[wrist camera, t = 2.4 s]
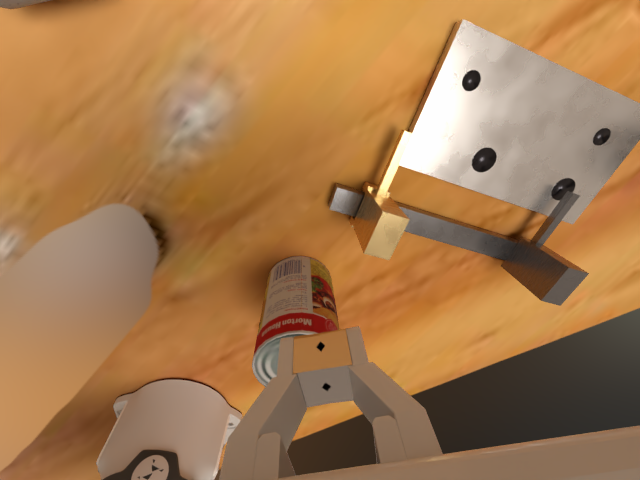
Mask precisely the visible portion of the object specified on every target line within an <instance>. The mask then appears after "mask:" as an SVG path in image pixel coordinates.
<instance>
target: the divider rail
mask: <svg viewBox="0 0 640 480" xmlns="http://www.w3.org/2000/svg"><path fill="white" fill-rule="evenodd" d="M364 196H365V192H363V191H360V190H357V189H354V188H350V187H347V186H344V185H341V184H338V183H335V186H334V189H333V192H332V195H331V197H330V200H329V203H328V205H329V209H330V210H333V211H337V212H340V213H344V214H347V215H351V216H354V217H356V215H357V213H358V210H359V208H360V205H361V203H362V200H363V198H364ZM579 197H580V195H577V194H575V193H572V192H569V191H567V192H566V194H565V195H564V196H563V198H562V199H561V200H560V202H559V203H558V204H557V206H556V207H555V208H554V210H553V211H552V213H551V214H550V215H549V217H548V218H547V219H546V221H545V222H544V223H543V225H542V226H541V227H540V229H539V230H538V231H537V233H536V234H535V236H534V237H533V238H532V240H530V239H526V238H523V237H521V239H520V240H517V239H514V238H511V237H507V236H504V235H501V234H498V233H495V232H491V231H488V230H485V229H482V228H479V227H475V226H472V225H469V224H466V223H463V222H459V221H456V220H453V219H450V218H447V217H443V216H440V215H437V214H434V213H431V212H427V211H424V210H421V209H418V208H415V207H411V206H408V205H405V204H402V203H398V202H395V201H394V202H395V203H396V204H397V205H398V207H399V208H400V209H401V210H402V211H403V212H404V213H405V215H406V216H407V217H408V218H409V219H410V220H409V222H408V224H407V226H406V228H405V230H404V231H406V232H409V233H412V234H416V235H419V236H423V237H426V238H430V239H433V240H436V241H440V242H443V243H447V244H450V245H454V246H457V247H461V248H464V249H467V250H471V251H474V252H478V253H481V254H485V255H488V256H491V257H495V258H498V259H502V260H505V261H504V262H503V264H502V265H501V267H503V268H504V269H505V270H506V271H507V272H508V273H510V274H511V275H512V276H513V277H514V278H515V279H517V280H518V281H519V282H520V283H521V284H522V285H524V286H525V287H526V288H527V289H528V290H529V291H531V292H532V293H533V294H534V295H535V296H536V297H538V298H539V299H540V300H541V301H545V302H548V303H552V304H556V305H561V304H562V303H563V302H564V301H565V300H566V299H567V298H568V296H569V295H570V294H571V293H572V292H573V291H574V290H575V289H576V288H577V286H578V285H579V284H580V283H581V282H582V281H583V280H584V279H585V277H586V276H587V275H588V274H589V273H587V272H586V271H584V270H582V269H581V268H579V267H578V266H576V265H574V264H573V263H571V262H569V261H568V260H566V259H565V258H563V257H561V256H560V255H558V254H557V253H555V252H553V251H552V250H550V249H549V248H547V247H545V246H544V245H543V244H544V242H545V241H546V240H547V239H548V237H549V236H550V235H551V233H552V232H553V231H554V229H555V228H556V227H557V225H558V224H559V223H560V222H561V220H562V219H563V218H564V216H565V215H566V214H567V212H568V211H569V210H570V208H571V207H572V206H573V205H574V203H575V202H576V201H577V199H578V198H579Z"/></svg>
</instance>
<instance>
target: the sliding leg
mask: <svg viewBox="0 0 640 480" xmlns="http://www.w3.org/2000/svg"><path fill="white" fill-rule="evenodd" d="M412 135H413V134H412V133H409V132H407V131H404V130H401V133H400V135H399V137H398V140H397V142H396V144H395V147H394V149H393V151H392V154H391V156H390V158H389V161H388V163H387V165H386V168H385V170H384V172H383V175H382V177H381V179H380V182H379V184H378V186H377V185H374V184H371V183H368V182H365V183H364V186H363V188H362V189H363V191H364V192H365V196H364V198H363V200H362V203H361V205H360V208H359V210H358V213H357V215H356V217H354V216H351V218H350V220H349V222H350V225H351V227H353V228H354V230H355V232H356V235H357V237H358V240H359V242H360V245H361V248H362V250H363V253H364V254H368V255H371V256H375V257H379V258H383V259H386V260H390V258H391V256H392V254H393V252H394V250H395V248H396V246H397V244H398V242H399V240H400V238H401V236H402V234H403V232H404V230H405V228H406V226H407V224H408V222H409V220H410V219H409V218H408V217H407V216H406V215H405V213H404V212H403V211H402V210H401V209H400V208H399V207H398V205H397V204H396V203H395V202H394V201H393V200H392V199H391V197H390V196H389V195H390V192H389V191H388V188H389V186H390V184H391V182H392V179H393V177H394V175H395V173H396V170H397V168H398V166H399V164H400V161H401V159H402V157H403V155H404V152H405V150H406V148H407V146H408V143H409V141H410V139H411V137H412Z"/></svg>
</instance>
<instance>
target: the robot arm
mask: <svg viewBox="0 0 640 480" xmlns="http://www.w3.org/2000/svg"><path fill="white" fill-rule="evenodd" d="M352 400H354V402H355V404H356V405H357V406H358V407H359V409H360V410H361V411H362V412H363V414H364V415H365V416H366V418H367V419H368V420H369V421H370V423H371V424H372V425H373V432H374V441H375V449H376V458H377V464H373V465H366V466H359V467H352V468H346V469H339V470H333V471H325V472H318V473H312V474H306V475H298V476H296V475H295V472H294V469H293V467H292V464H291V462H290V459H289V457H288V454H287V450H288V447H289V445H290V443H291V441H292V439H293V437H294V435H295V433H296V431H297V429H298V427H299V425H300V422H301V420H302V418H303V416H304V414H305V412H306V410H307V408H306V407H312V406H317V405H323V404H328V403H336V402H344V401H352ZM113 408H114V411H115V414H116V417H117V421H116V423H115V425H114V427H113V429H112V431H111V433H110V435H109V437H108V439H107V441H106V443H105V445H104V447H103V449H102V451H101V453H100V455H99V457H98V459H97V462H96V465H97V466H98V472H99V473H100V477H101V480H214V479H215V476H216V474H217V472H218V469H219V461H220V457H221V453H222V449H223V447H224V445H225V444H226V442H227V446H226V450H225V455H224V459H223V464H222V468H221V473H220V477H219V480H640V426H634V427H627V428H620V429H613V430H606V431H599V432H593V433H586V434H579V435H572V436H565V437H558V438H551V439H545V440H538V441H531V442H524V443H517V444H511V445H505V446H497V447H490V448H484V449H477V450H470V451H463V452H456V453H449V454H443V453H442V451H441V448H440V446H439V444H438V441H437V438H436V436H435V433H434V431H433V428H432V426H431V423H430V421H429V418H428V415H427V413H426V410H425V408H423V407H422V406H421V405H420V404H419V403H418V402H417V401H416V400H414V399H413V398H412V397H411V396H410V395H409V394H408V393H407V392H406V391H404V390H403V389H402V388H401V387H400V386H399V385H398V384H397V383H395V382H394V381H393V380H392V379H391V378H390V377H389V376H388V375H387V374H385V373H384V372H383V371H382V370H381V369H380V368H379V367H378V366H376V365H375V364H374V363H373V362H370V363H369V362H368V358H367V354H366V350H365V346H364V342H363V338H362V334H361V330H360V328H359V326H358V327H352V328H346V329H340V330H334V331H328V332H322V333H317V334H309V335H302V336H294V337H289V338H281V340H280V346H279V356H278V367H277V377H273V378H272V379H271V380H270V382H269V383H268V384H267V386H266V387H265V389H264V390H263V391H262V393H261V394H260V395H259V397H258V398H257V399H256V401H255V402H254V404H253V405H252V406H251V408H250V409H249V410H248V412H247V413H246V414H245V416H244V417H243V418H242V414H241V413H240V412H239V411H237V410H235V409H234V408H232V407H230V406H229V405H228V404H227V402H226V401H225V399H224V398H223V397H222V396H221V395H220V394H219V393H217V392H216V391H215V390H213V389H211V388H209V387H207V386H205V385H202V384H199V383H196V382H192V381H187V380H162V381H157V382H153V383H150V384H148V385H146V386H144V387H142V388H141V389H139V390H138V391H136V392H134V393H132V394H127V395H123V396H120V397H118V398H117V399H116V401H115V403H114V405H113ZM241 419H242V420H241Z"/></svg>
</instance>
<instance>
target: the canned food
mask: <svg viewBox="0 0 640 480" xmlns="http://www.w3.org/2000/svg"><path fill="white" fill-rule="evenodd" d="M334 330H339V324H338V317H337V311H336V305H335V299H334V293H333V287H332V280H331V276H330V274H329V271H328V270H327V268H326V267H325V266H324V265H323V264H322V263H320V262H319V261H318V260H315V259H313V258H311V257H305V256H293V257H289V258H286V259H284V260H282V261H280V262H279V263H277V264H276V265H275V266H274V267H273V268H272V269H271V271H270V273H269V275H268V280H267V286H266V291H265V297H264V302H263V308H262V313H261V318H260V324H259V329H258V335H257V340H256V346H255V351H254V357H253V362H252V368H253V372H254V375H255V376H256V378H257V379H258V381H259V382H260V383H261V384H263V385H264V386H265V387H266V386H267V384H268V383H269V382H270V380H271V379H272V378H273V377H277V367H278V356H279V346H280V340H281V338H289V337H294V336H302V335H309V334H317V333H322V332H328V331H334Z"/></svg>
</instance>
